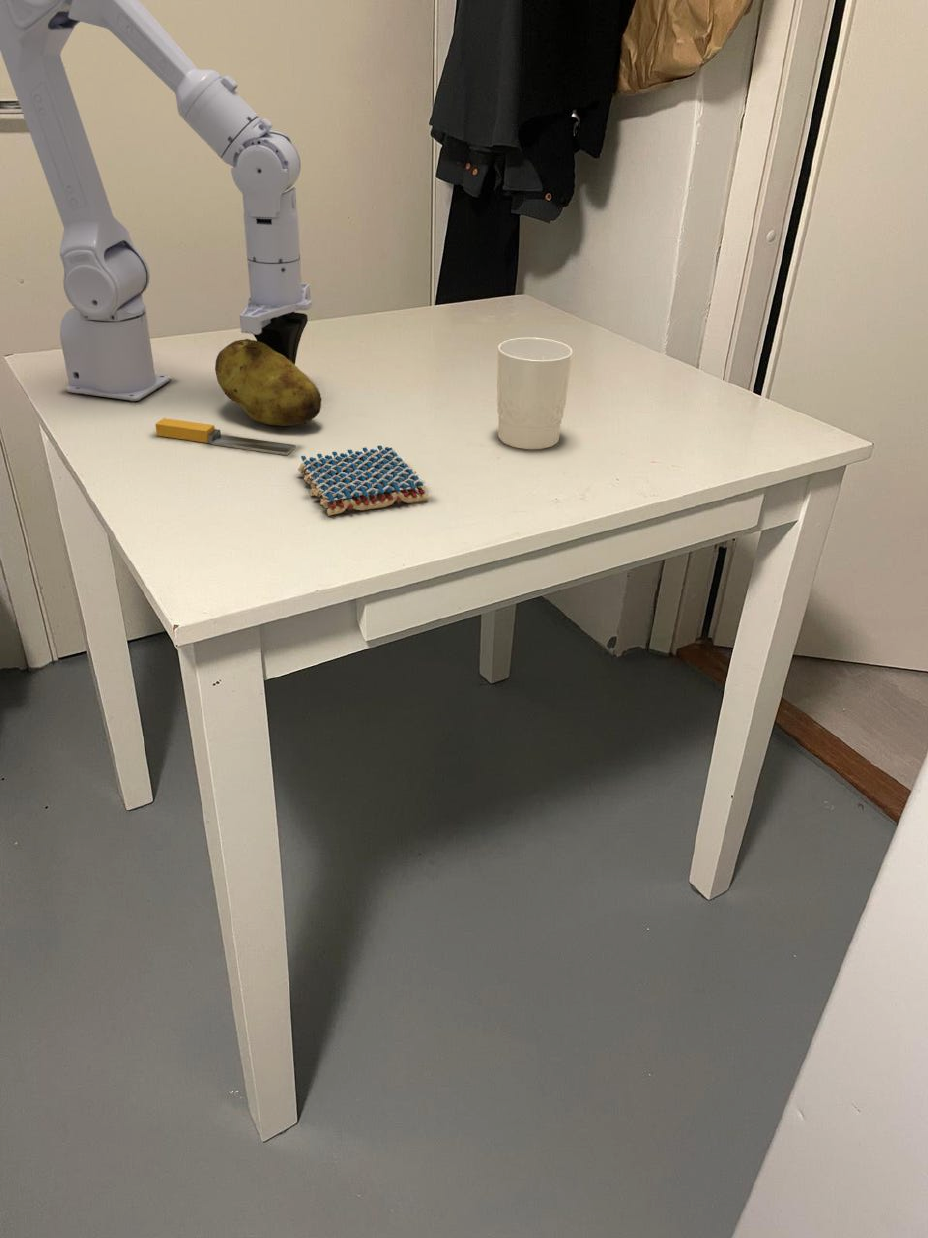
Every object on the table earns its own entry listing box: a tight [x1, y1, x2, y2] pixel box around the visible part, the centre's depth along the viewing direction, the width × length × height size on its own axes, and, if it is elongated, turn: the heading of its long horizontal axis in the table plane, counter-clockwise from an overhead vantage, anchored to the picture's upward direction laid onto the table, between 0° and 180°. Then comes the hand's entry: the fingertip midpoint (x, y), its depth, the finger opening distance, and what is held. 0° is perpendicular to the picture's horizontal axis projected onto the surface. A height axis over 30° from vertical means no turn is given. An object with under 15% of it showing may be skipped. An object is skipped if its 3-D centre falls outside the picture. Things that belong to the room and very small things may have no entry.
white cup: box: [496, 337, 574, 450], centre depth 103 cm, size 8×8×10 cm
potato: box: [214, 338, 322, 427], centre depth 106 cm, size 8×13×8 cm, turn 37°
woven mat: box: [297, 445, 430, 516], centre depth 93 cm, size 10×11×2 cm
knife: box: [155, 417, 296, 456], centre depth 102 cm, size 15×2×1 cm, turn 75°
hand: (282, 378), depth 112 cm, fingers closed
